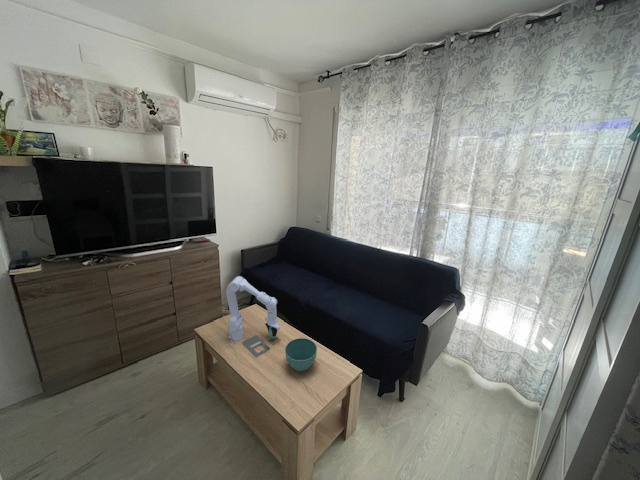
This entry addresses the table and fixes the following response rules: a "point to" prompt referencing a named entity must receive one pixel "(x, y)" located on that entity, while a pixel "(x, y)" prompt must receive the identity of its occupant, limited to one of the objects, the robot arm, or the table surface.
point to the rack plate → (255, 345)
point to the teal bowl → (301, 353)
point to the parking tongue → (272, 340)
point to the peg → (271, 333)
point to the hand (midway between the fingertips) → (272, 334)
